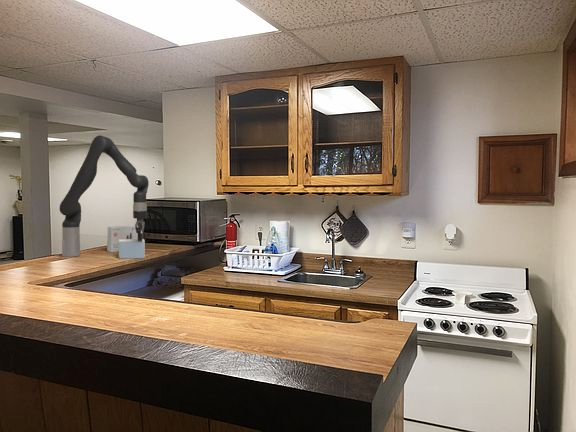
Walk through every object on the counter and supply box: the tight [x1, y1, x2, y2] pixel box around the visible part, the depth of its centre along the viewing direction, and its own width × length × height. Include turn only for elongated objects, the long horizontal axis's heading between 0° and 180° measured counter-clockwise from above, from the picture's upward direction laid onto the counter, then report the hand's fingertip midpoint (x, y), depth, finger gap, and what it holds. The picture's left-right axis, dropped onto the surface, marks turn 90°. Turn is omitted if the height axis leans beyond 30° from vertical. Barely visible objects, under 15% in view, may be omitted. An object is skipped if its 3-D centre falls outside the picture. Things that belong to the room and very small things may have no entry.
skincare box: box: [106, 224, 138, 253], centre depth 286 cm, size 21×5×16 cm, turn 143°
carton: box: [118, 238, 146, 259], centre depth 263 cm, size 14×10×10 cm
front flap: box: [118, 240, 145, 259], centre depth 256 cm, size 14×1×16 cm, turn 100°
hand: (140, 239), depth 256 cm, fingers closed
